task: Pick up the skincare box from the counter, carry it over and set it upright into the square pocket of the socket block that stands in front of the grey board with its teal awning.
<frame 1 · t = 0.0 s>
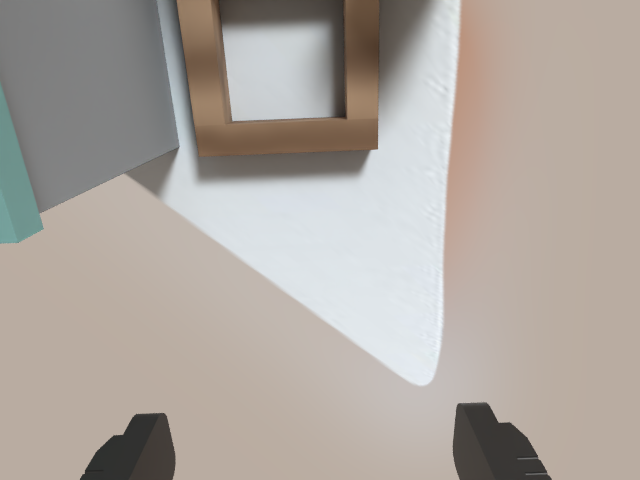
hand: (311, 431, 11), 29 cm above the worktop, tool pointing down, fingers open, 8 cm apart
socket block: (284, 57, 35), on the worktop
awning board: (156, 62, 35), on the worktop
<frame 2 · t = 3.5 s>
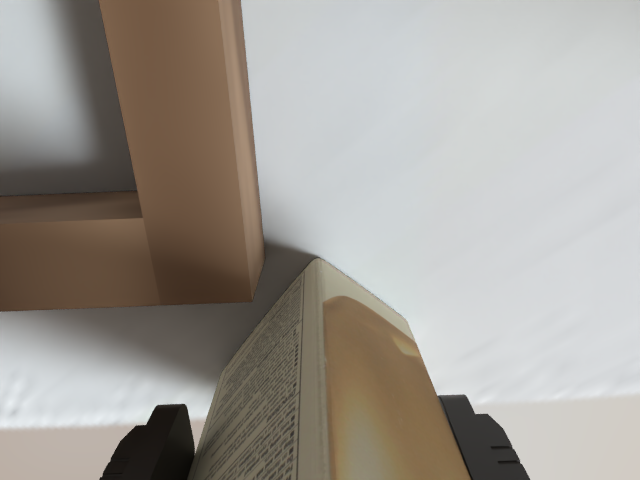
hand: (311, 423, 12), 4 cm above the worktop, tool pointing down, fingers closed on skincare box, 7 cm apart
skincare box: (314, 339, 16), on the worktop, touching gripper
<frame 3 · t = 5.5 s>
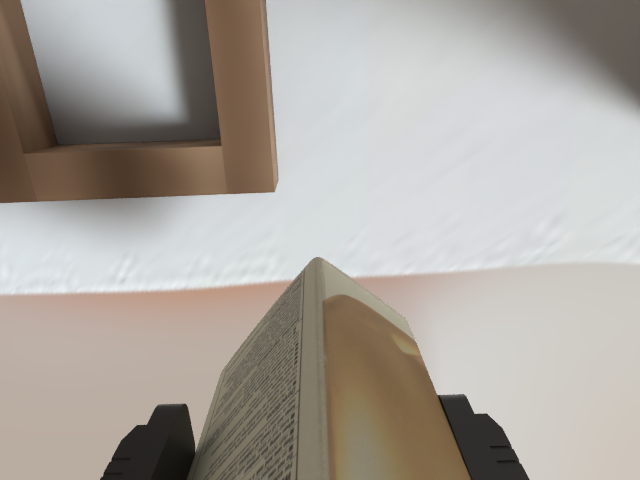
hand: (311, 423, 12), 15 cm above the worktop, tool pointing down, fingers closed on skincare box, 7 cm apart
socket block: (127, 46, 22), on the worktop
skincare box: (314, 338, 16), point 11 cm above the worktop, touching gripper
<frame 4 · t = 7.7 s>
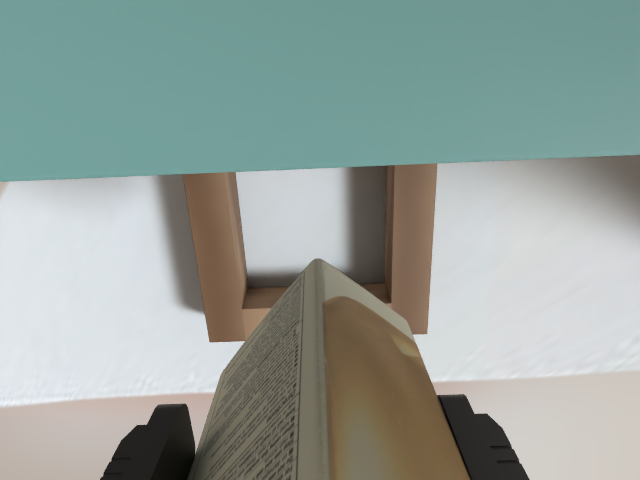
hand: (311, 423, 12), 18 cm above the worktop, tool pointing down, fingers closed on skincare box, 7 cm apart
socket block: (313, 221, 29), on the worktop
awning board: (304, 49, 25), on the worktop
skincare box: (314, 339, 16), point 14 cm above the worktop, touching gripper
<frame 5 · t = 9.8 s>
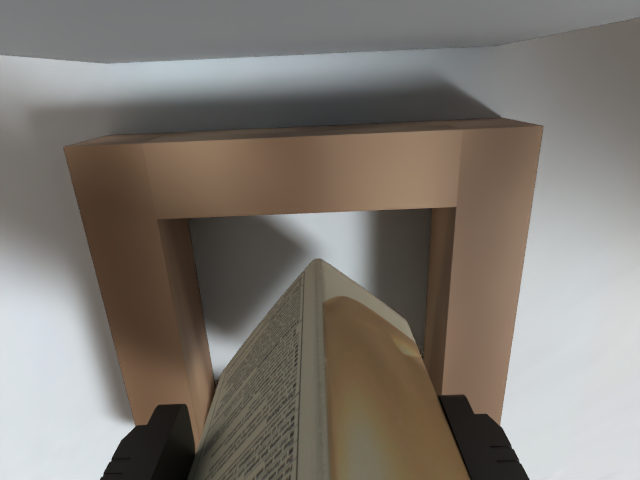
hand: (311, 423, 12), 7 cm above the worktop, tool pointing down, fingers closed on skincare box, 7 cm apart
socket block: (314, 300, 18), on the worktop
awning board: (299, 29, 15), on the worktop
skincare box: (314, 339, 16), point 3 cm above the worktop, touching gripper
when the fingers open (5 cm above the worktop, at t = 11.5 s): skincare box drops 1 cm, resting in socket block.
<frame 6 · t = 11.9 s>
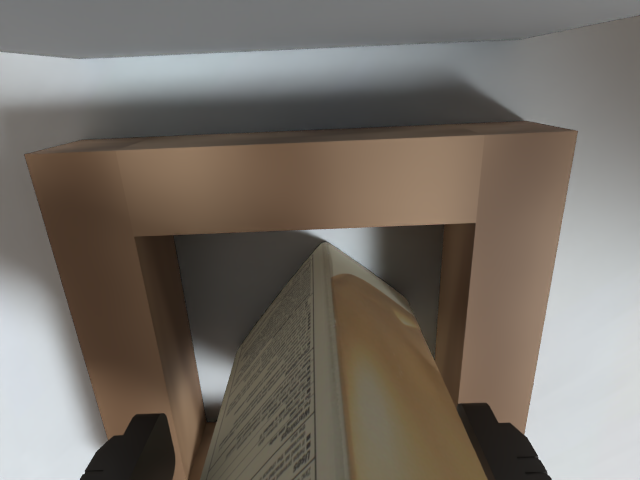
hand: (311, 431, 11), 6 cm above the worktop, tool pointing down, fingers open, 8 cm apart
socket block: (313, 321, 17), on the worktop
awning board: (297, 20, 13), on the worktop
skincare box: (322, 318, 17), resting in socket block
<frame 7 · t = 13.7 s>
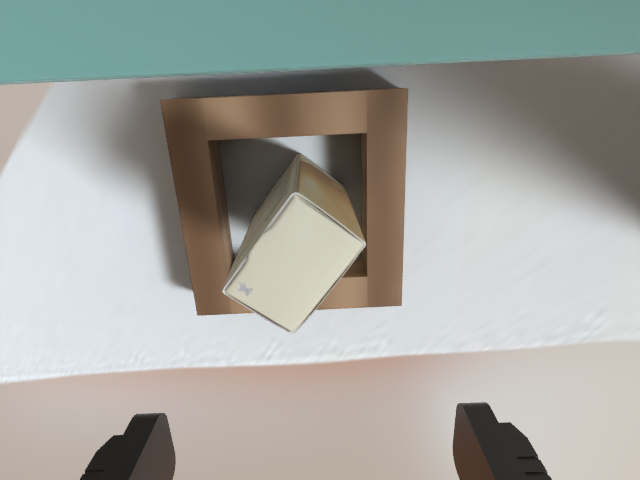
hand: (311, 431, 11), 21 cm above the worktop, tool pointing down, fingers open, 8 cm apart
socket block: (294, 200, 31), on the worktop
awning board: (283, 38, 27), on the worktop
skincare box: (299, 199, 31), resting in socket block
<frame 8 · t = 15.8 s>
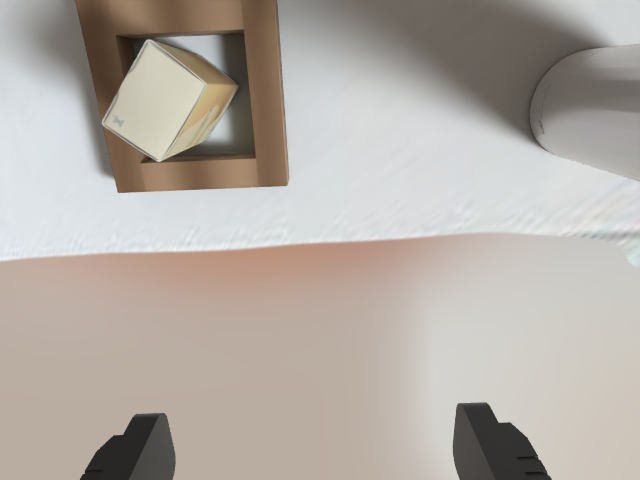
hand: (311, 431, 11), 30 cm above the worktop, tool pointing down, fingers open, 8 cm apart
socket block: (199, 98, 37), on the worktop
skincare box: (203, 98, 37), resting in socket block
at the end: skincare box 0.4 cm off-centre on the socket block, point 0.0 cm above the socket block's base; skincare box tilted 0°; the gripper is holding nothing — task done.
